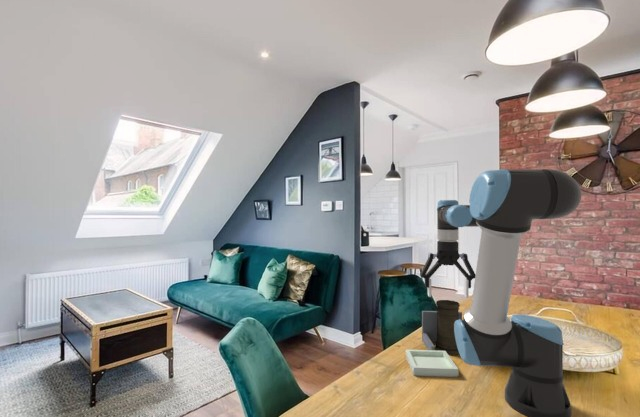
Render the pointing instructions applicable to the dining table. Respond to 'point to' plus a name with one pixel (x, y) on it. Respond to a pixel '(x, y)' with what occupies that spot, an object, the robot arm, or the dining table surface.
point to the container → (447, 326)
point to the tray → (431, 363)
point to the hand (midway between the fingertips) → (447, 296)
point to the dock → (430, 328)
